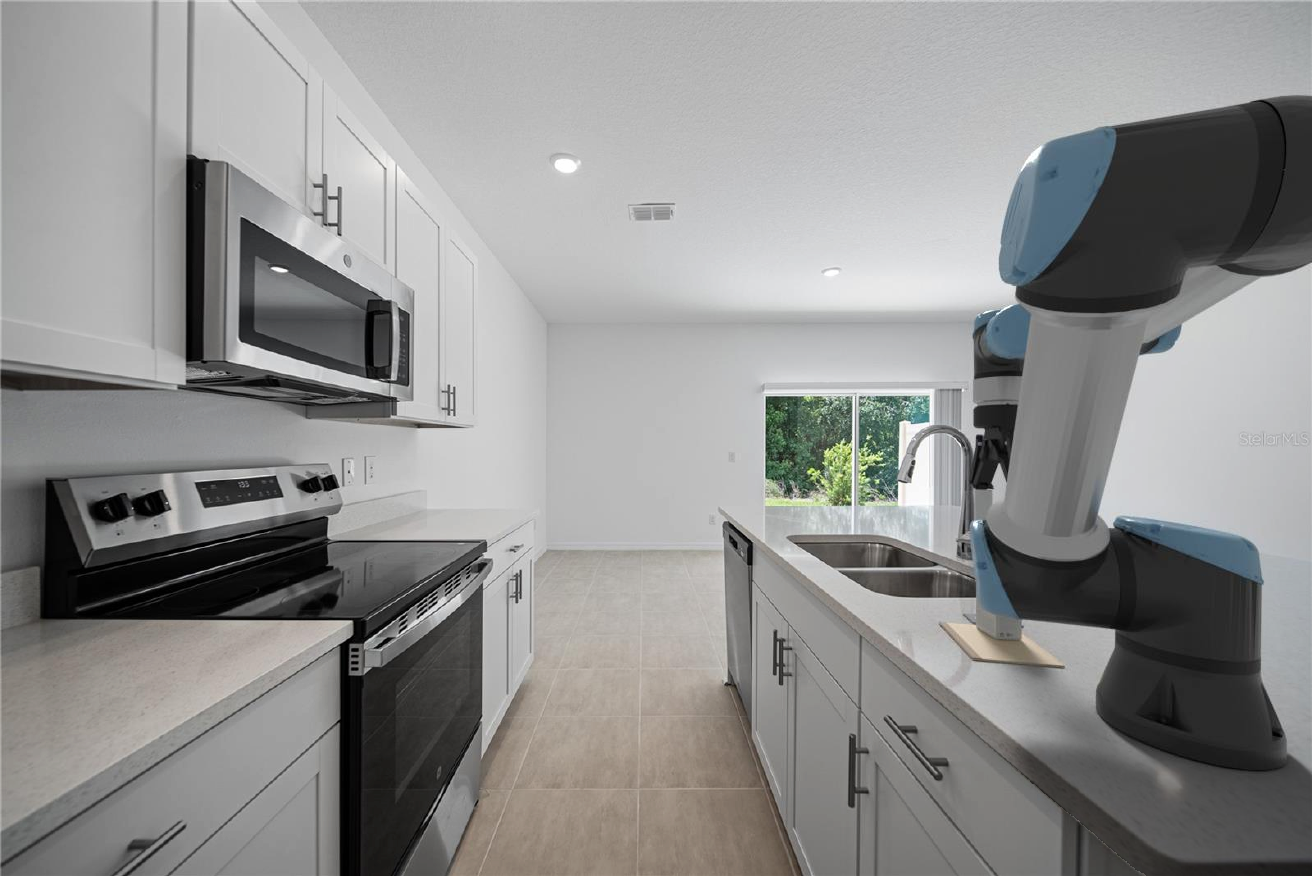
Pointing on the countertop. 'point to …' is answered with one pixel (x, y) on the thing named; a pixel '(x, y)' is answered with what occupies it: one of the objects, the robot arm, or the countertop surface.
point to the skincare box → (997, 624)
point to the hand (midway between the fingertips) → (999, 532)
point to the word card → (972, 617)
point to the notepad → (998, 647)
